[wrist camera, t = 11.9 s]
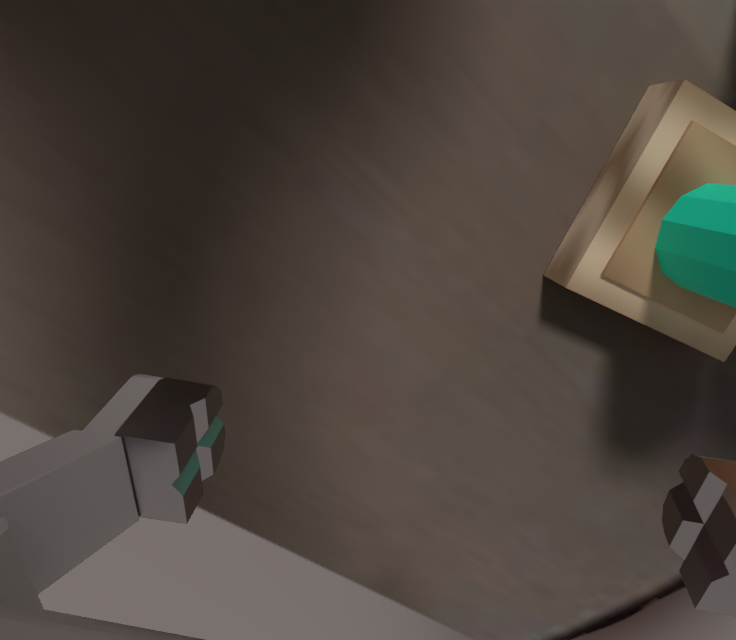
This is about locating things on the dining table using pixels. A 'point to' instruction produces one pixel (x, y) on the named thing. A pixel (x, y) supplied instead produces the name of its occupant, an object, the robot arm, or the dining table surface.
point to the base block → (653, 216)
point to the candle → (701, 242)
